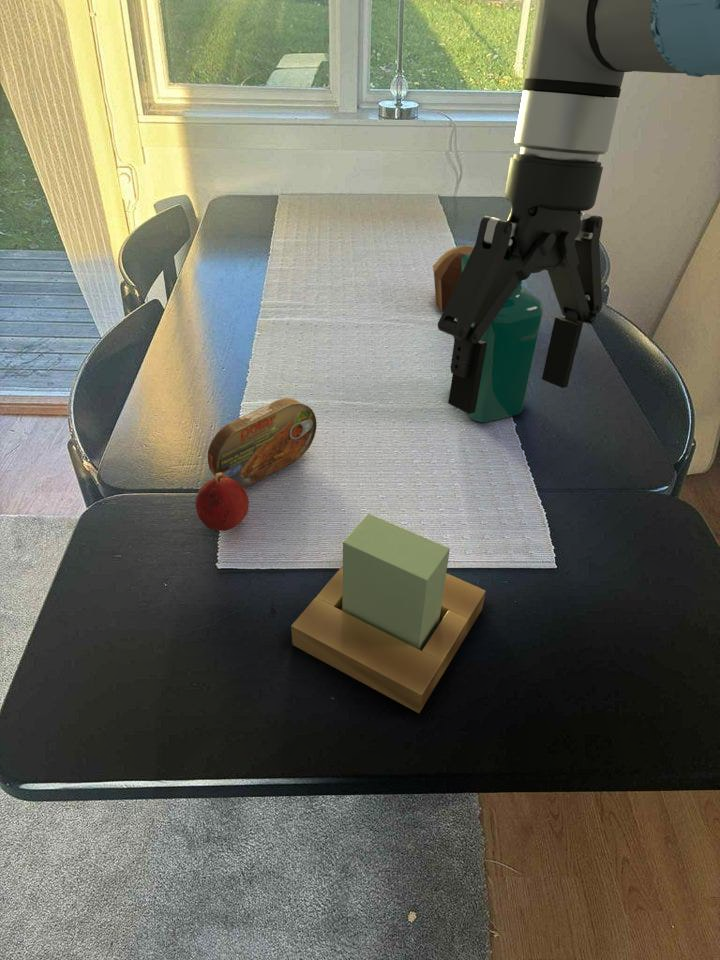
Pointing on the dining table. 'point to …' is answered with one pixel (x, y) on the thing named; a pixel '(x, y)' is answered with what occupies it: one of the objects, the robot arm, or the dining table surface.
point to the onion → (222, 503)
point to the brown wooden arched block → (448, 273)
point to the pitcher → (508, 356)
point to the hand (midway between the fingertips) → (510, 395)
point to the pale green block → (394, 580)
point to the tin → (262, 441)
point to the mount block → (387, 642)
